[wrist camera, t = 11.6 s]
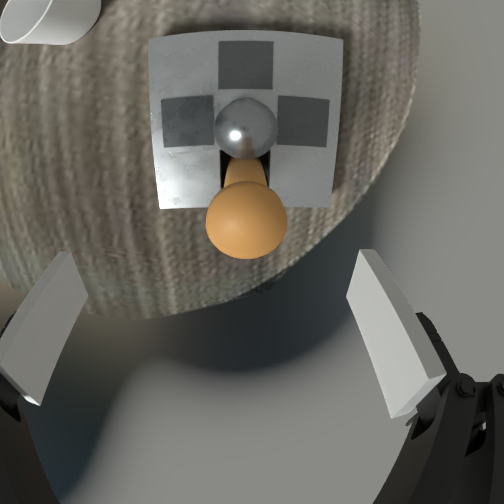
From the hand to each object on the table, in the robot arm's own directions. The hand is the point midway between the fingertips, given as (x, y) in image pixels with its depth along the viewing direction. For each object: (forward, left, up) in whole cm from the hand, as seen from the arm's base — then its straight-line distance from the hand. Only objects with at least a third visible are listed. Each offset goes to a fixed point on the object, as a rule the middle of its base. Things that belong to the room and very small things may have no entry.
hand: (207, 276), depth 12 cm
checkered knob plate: (+2, +4, -23) cm, 23 cm away
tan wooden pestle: (+2, -2, -23) cm, 23 cm away
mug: (-19, +23, -23) cm, 38 cm away
